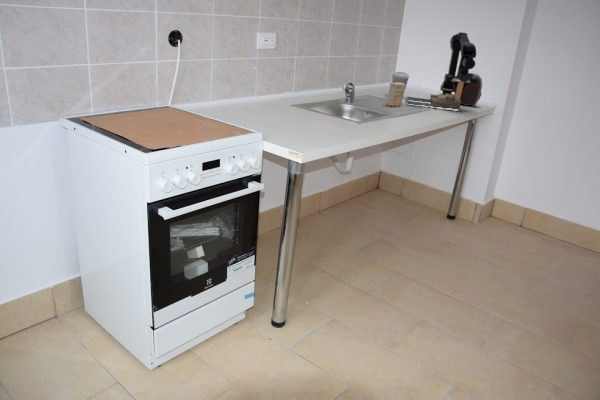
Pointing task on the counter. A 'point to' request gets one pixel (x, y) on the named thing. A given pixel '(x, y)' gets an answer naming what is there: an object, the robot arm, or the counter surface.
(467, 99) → the dark brown rounded block
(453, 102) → the railed tan board
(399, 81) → the disposable coffee cup
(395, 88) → the supplement box
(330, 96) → the counter surface
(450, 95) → the brass block
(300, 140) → the counter surface
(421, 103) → the slate tray
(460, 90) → the brown and grey block
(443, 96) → the brass block
